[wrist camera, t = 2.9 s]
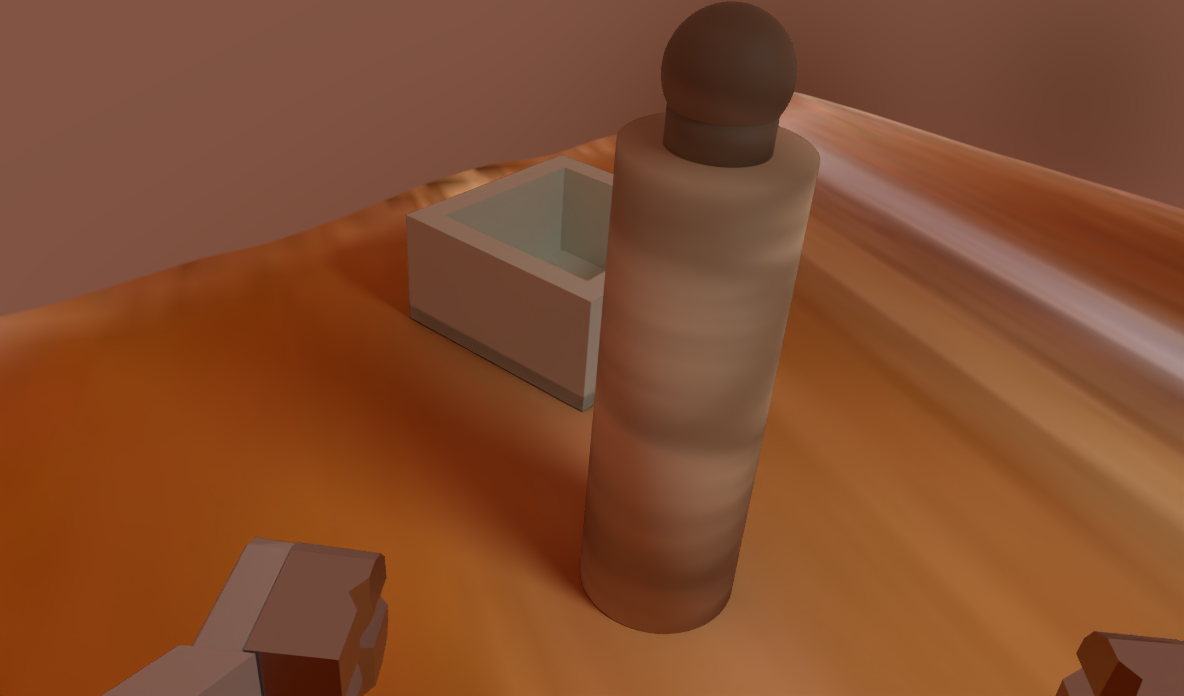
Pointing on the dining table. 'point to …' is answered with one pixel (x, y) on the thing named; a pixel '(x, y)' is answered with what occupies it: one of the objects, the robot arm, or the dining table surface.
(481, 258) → the box
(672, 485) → the pepper mill
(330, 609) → the robot arm
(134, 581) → the dining table surface
